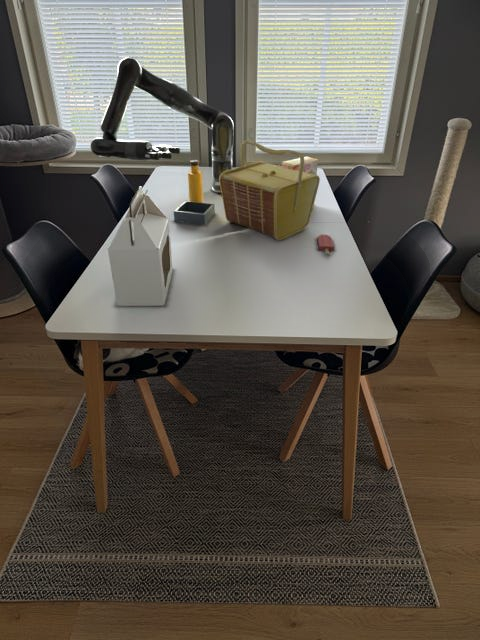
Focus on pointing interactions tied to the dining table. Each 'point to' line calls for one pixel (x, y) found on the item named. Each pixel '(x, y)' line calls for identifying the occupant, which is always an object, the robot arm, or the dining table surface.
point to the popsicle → (325, 243)
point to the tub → (194, 212)
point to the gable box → (141, 255)
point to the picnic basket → (269, 195)
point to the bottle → (195, 182)
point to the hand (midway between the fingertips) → (175, 153)
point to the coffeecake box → (309, 165)
